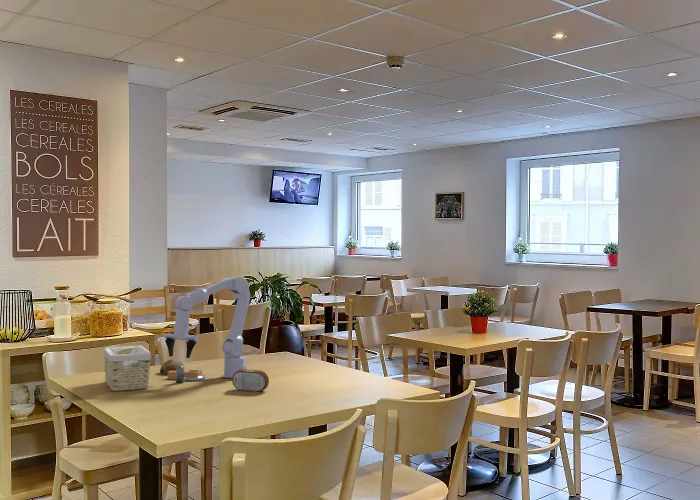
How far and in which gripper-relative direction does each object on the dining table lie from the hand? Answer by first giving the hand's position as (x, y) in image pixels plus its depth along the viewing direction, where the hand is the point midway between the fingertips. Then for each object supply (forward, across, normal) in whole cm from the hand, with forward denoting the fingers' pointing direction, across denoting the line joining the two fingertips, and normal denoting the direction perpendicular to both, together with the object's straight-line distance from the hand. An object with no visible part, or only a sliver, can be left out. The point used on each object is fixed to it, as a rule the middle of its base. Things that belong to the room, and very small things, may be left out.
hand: (179, 357), depth 278 cm
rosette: (+10, +4, +8) cm, 13 cm away
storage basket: (+12, -18, -10) cm, 24 cm away
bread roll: (+11, -11, +19) cm, 25 cm away
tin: (+10, +35, -9) cm, 37 cm away
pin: (+11, +1, 0) cm, 11 cm away
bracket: (+10, 0, +8) cm, 13 cm away
